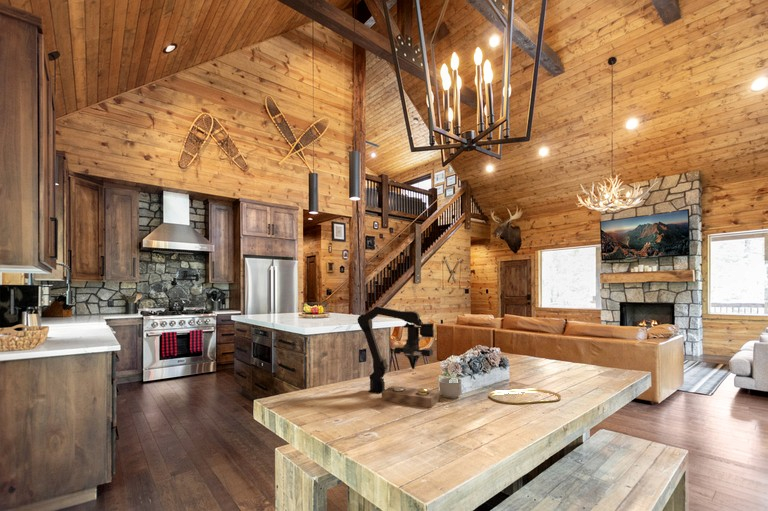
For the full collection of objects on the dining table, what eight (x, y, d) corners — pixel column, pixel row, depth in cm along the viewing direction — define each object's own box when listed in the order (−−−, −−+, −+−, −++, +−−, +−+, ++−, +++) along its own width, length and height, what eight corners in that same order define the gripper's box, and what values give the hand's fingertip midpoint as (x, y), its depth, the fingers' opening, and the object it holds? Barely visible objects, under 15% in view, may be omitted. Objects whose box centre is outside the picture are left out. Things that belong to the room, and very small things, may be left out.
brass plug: (416, 397, 174) (416, 389, 174) (419, 394, 178) (419, 387, 179) (426, 398, 172) (426, 391, 172) (429, 396, 176) (429, 388, 177)
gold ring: (481, 395, 189) (481, 391, 189) (544, 391, 196) (544, 388, 196) (501, 406, 170) (501, 403, 171) (570, 402, 178) (569, 398, 178)
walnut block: (381, 400, 177) (381, 391, 178) (392, 394, 188) (392, 385, 188) (431, 407, 167) (431, 398, 167) (439, 400, 178) (439, 391, 178)
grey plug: (392, 396, 179) (392, 389, 179) (396, 394, 183) (396, 386, 184) (401, 398, 177) (401, 390, 177) (405, 395, 181) (405, 388, 182)
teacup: (463, 400, 179) (463, 382, 179) (440, 399, 179) (440, 382, 180) (458, 391, 193) (458, 375, 193) (436, 391, 193) (436, 375, 194)
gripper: (389, 337, 188) (389, 370, 186) (425, 340, 180) (425, 374, 178) (398, 335, 198) (398, 366, 196) (433, 337, 190) (433, 369, 188)
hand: (413, 368), depth 190 cm, fingers closed
